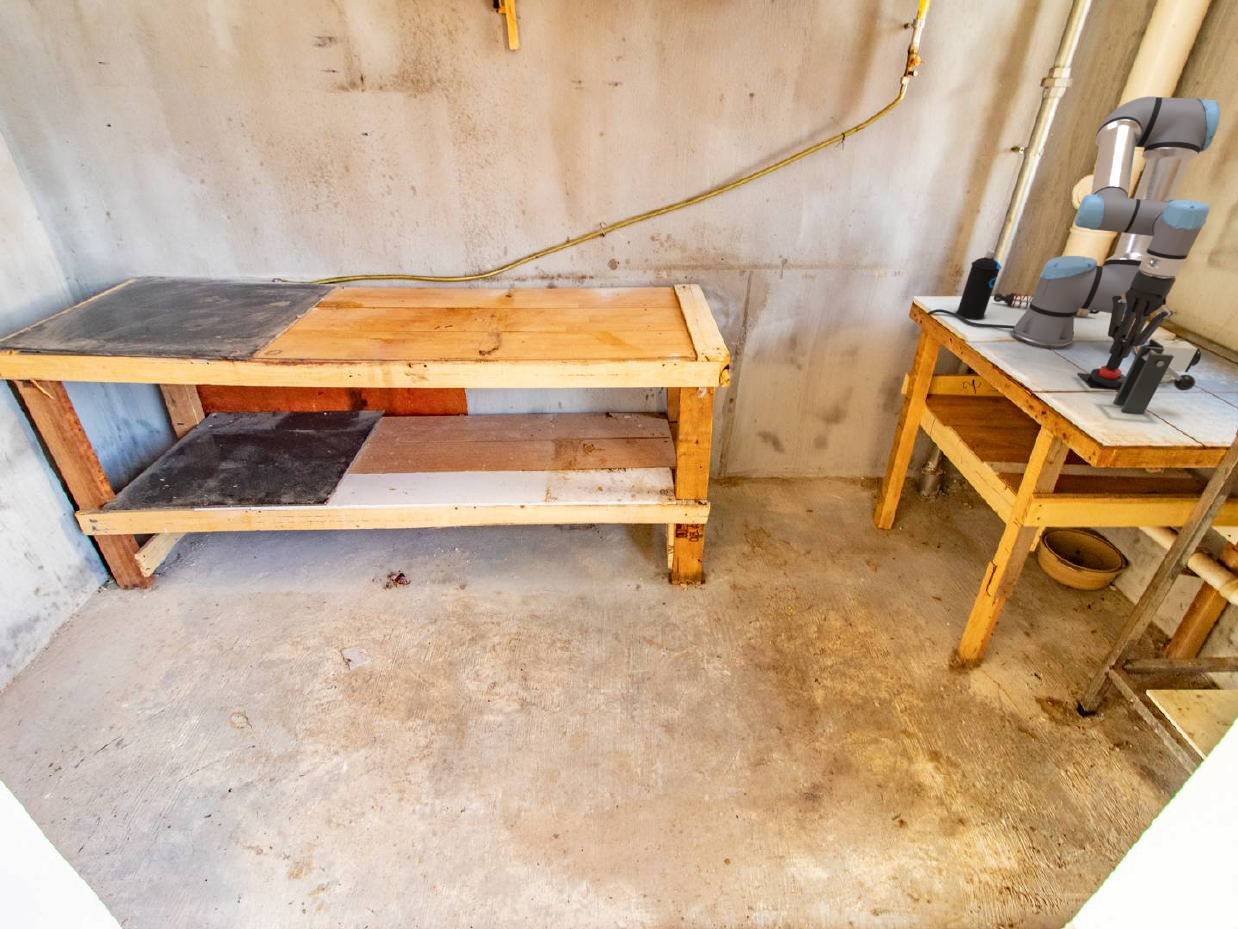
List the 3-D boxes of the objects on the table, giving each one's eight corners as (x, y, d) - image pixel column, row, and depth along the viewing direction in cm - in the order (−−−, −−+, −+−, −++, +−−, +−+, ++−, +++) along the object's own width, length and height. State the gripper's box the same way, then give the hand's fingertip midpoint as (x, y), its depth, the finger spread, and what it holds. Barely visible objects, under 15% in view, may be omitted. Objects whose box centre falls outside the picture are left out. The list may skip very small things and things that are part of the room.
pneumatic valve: (1184, 389, 164) (1208, 345, 158) (1134, 386, 165) (1156, 341, 159) (1171, 380, 169) (1195, 336, 162) (1123, 376, 170) (1144, 333, 163)
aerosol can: (956, 317, 204) (977, 252, 193) (955, 309, 210) (975, 246, 199) (985, 321, 202) (1007, 256, 191) (983, 312, 208) (1004, 249, 197)
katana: (1136, 366, 178) (1140, 357, 176) (1119, 320, 203) (1123, 312, 202) (1142, 367, 177) (1146, 358, 176) (1124, 321, 203) (1128, 312, 201)
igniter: (1113, 373, 164) (1116, 366, 163) (1121, 381, 161) (1125, 373, 160) (1094, 372, 165) (1097, 364, 164) (1102, 379, 161) (1105, 372, 160)
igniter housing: (1116, 382, 167) (1123, 369, 165) (1131, 396, 160) (1138, 383, 158) (1074, 378, 168) (1080, 366, 166) (1088, 392, 162) (1094, 379, 160)
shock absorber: (995, 296, 211) (1102, 310, 201) (996, 286, 214) (1103, 300, 203) (990, 307, 215) (1096, 321, 205) (992, 298, 218) (1096, 311, 207)
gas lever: (1177, 389, 150) (1193, 377, 148) (1186, 396, 147) (1202, 384, 145) (1137, 357, 147) (1152, 345, 145) (1145, 364, 144) (1160, 352, 142)
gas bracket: (1138, 408, 155) (1171, 346, 146) (1153, 422, 149) (1188, 359, 141) (1098, 404, 156) (1127, 343, 148) (1111, 418, 151) (1142, 355, 142)
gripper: (1118, 267, 152) (1077, 359, 165) (1175, 284, 142) (1127, 381, 155) (1139, 263, 155) (1097, 355, 168) (1197, 280, 145) (1148, 376, 158)
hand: (1111, 367), depth 162 cm, fingers closed
